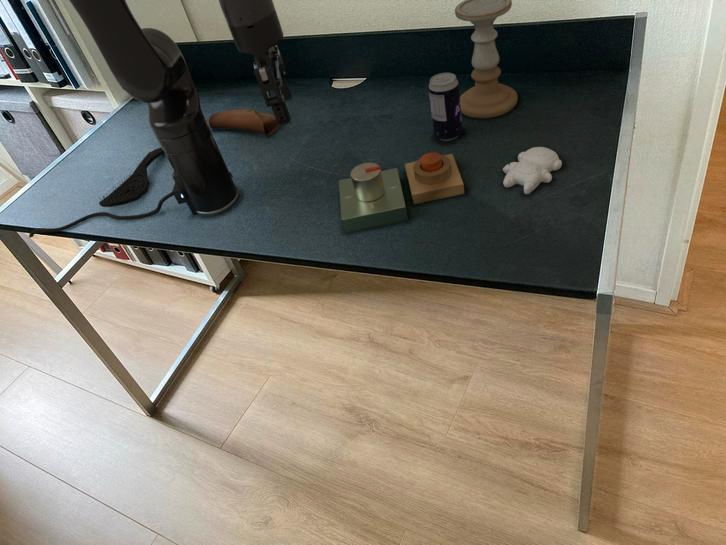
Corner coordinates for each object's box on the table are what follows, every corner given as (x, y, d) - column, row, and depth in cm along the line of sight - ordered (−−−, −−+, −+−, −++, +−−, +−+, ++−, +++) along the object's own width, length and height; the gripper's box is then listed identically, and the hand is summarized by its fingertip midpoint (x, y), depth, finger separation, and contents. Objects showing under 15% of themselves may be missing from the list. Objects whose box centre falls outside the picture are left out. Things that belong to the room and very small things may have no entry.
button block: (413, 204, 94) (410, 186, 91) (406, 173, 101) (403, 155, 98) (464, 194, 93) (462, 175, 90) (453, 163, 100) (451, 144, 97)
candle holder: (528, 94, 112) (529, -7, 98) (498, 123, 107) (495, 20, 93) (477, 86, 119) (471, -10, 105) (446, 113, 114) (436, 15, 100)
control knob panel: (345, 233, 92) (341, 219, 90) (342, 193, 101) (338, 179, 98) (408, 220, 91) (405, 205, 89) (399, 181, 100) (397, 166, 97)
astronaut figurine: (490, 183, 93) (489, 169, 91) (529, 149, 98) (529, 134, 96) (534, 199, 88) (534, 184, 86) (573, 162, 93) (574, 147, 91)
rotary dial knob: (356, 204, 92) (350, 181, 89) (355, 187, 96) (349, 164, 92) (386, 198, 92) (381, 174, 88) (383, 181, 95) (378, 158, 92)
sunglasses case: (287, 117, 126) (271, 102, 121) (278, 144, 125) (261, 130, 120) (231, 112, 135) (214, 97, 129) (222, 137, 134) (204, 124, 128)
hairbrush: (175, 137, 125) (119, 199, 108) (182, 151, 128) (128, 214, 110) (146, 140, 128) (85, 201, 110) (152, 154, 130) (95, 215, 112)
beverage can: (462, 142, 105) (457, 84, 96) (433, 144, 106) (425, 87, 98) (463, 126, 108) (459, 70, 100) (435, 129, 110) (429, 73, 102)
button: (423, 174, 93) (422, 165, 92) (420, 163, 96) (419, 154, 95) (443, 169, 93) (442, 161, 92) (440, 158, 96) (439, 150, 94)
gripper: (231, 4, 85) (266, 98, 96) (221, 37, 75) (262, 137, 86) (275, -8, 84) (306, 87, 95) (271, 22, 74) (307, 125, 85)
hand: (285, 111), depth 91 cm, fingers open, 8 cm apart
